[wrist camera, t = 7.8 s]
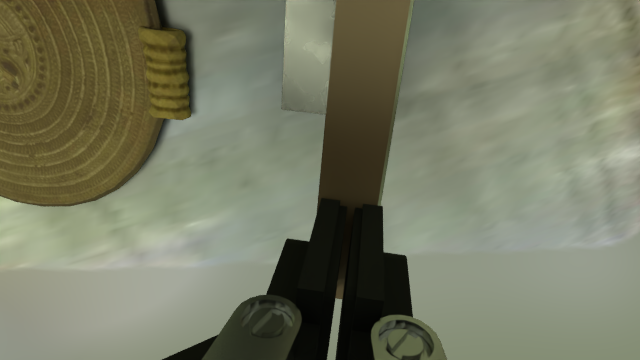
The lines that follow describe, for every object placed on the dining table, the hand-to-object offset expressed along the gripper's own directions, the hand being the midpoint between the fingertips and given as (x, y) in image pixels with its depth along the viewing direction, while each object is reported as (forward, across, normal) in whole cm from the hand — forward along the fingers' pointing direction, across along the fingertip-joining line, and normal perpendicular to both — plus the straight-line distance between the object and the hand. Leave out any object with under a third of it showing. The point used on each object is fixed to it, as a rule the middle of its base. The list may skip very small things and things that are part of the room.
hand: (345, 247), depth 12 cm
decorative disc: (+22, +28, 0) cm, 35 cm away
